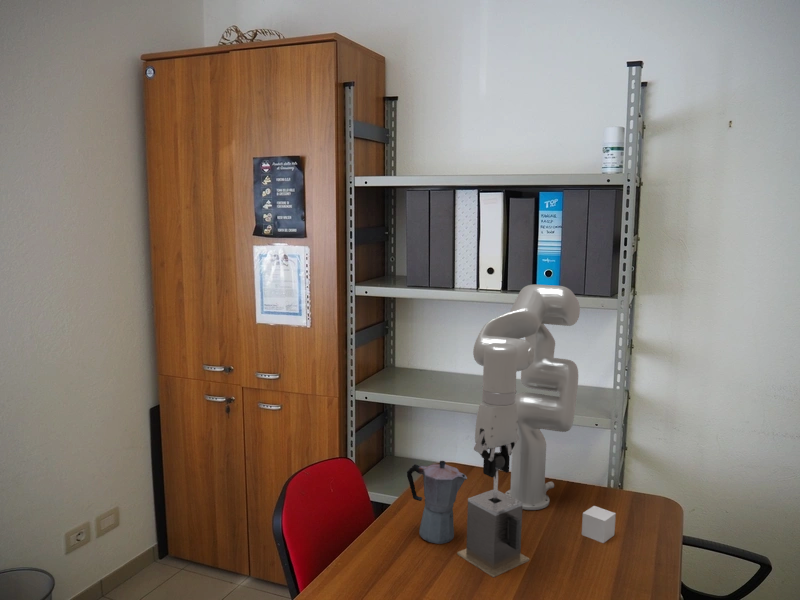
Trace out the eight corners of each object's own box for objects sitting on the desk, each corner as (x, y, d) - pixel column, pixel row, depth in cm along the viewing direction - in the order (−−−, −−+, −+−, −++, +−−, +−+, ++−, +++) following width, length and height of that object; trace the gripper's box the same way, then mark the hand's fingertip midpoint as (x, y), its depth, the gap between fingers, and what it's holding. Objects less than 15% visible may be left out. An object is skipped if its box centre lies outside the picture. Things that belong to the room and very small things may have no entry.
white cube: (614, 535, 161) (615, 513, 160) (603, 543, 157) (604, 521, 156) (592, 527, 165) (594, 505, 164) (581, 534, 161) (582, 512, 160)
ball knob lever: (494, 511, 152) (496, 446, 150) (513, 522, 147) (516, 454, 145) (475, 519, 149) (477, 451, 146) (494, 529, 143) (497, 460, 141)
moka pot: (463, 548, 153) (465, 470, 150) (401, 541, 156) (402, 464, 153) (467, 530, 162) (469, 456, 160) (408, 523, 165) (410, 450, 163)
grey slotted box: (492, 539, 157) (494, 485, 156) (533, 563, 147) (536, 505, 145) (457, 554, 150) (459, 497, 148) (497, 580, 140) (500, 519, 138)
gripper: (511, 388, 152) (508, 460, 154) (461, 399, 142) (458, 476, 144) (535, 395, 146) (532, 470, 148) (484, 407, 136) (481, 487, 138)
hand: (496, 472), depth 146 cm, fingers closed on ball knob lever, 4 cm apart
